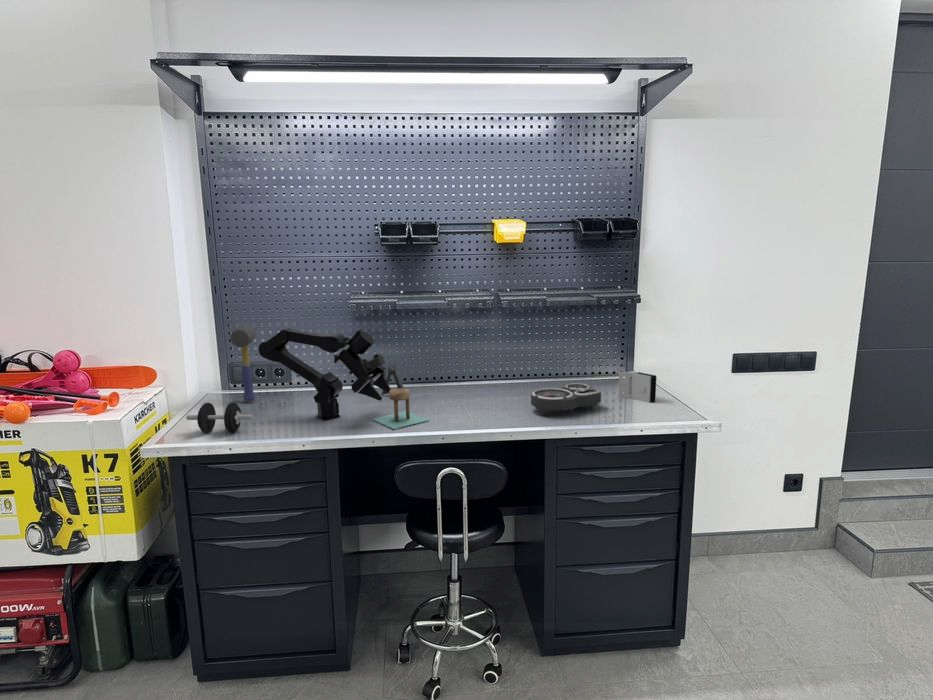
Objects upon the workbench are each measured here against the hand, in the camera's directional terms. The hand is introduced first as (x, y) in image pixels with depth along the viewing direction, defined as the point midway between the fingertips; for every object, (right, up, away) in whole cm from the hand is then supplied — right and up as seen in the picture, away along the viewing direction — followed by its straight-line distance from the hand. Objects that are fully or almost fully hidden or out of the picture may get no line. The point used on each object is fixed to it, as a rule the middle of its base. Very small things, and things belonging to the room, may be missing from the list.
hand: (386, 396), depth 195 cm
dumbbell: (-53, -11, -8) cm, 55 cm away
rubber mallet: (-57, -5, +28) cm, 64 cm away
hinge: (+92, -3, +22) cm, 95 cm away
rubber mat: (+5, -9, +1) cm, 10 cm away
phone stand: (-2, -2, +36) cm, 37 cm away
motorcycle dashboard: (+63, -6, +10) cm, 64 cm away
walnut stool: (+5, -8, 0) cm, 9 cm away
